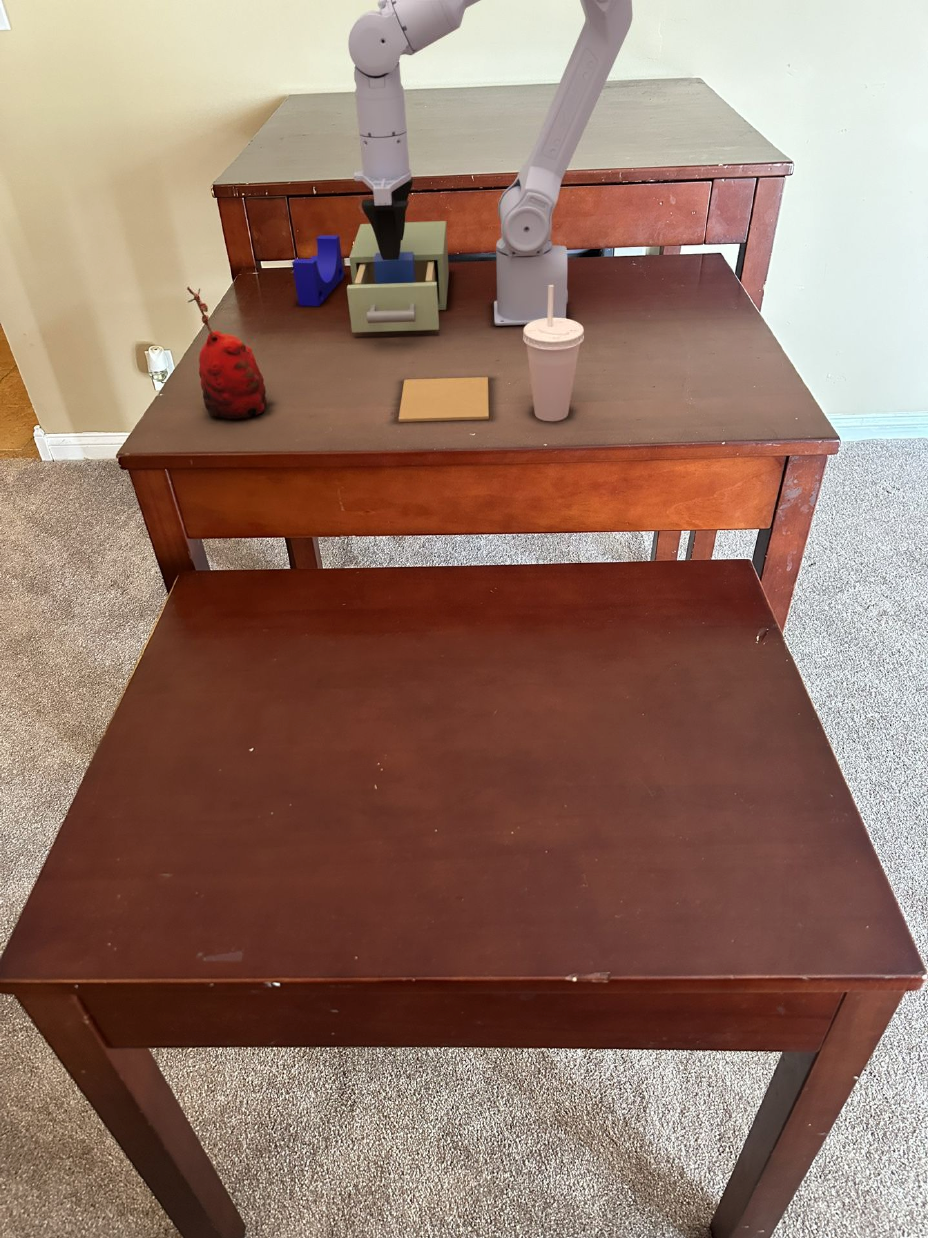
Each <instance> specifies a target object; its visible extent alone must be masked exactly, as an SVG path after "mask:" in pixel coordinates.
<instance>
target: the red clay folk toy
mask: <svg viewBox="0 0 928 1238" xmlns="http://www.w3.org/2000/svg"><path fill="white" fill-rule="evenodd" d="M186 290H187V291H188V292H189V293H190V294H191V295H192V296H193V298H191V299H189V300H188V301H187V303H188V304H189V303H192V302H193V301H195V302H196V304H197V307H198V309H199V311H200V313H201V315H202V316H201V322H202V324H204V325H205V326H206V328H207V330H208V335H207V339H206V341H205V342H204V345H203V346H202V348H201V350H200V351H199V356H198V362H199V368H198V375H199V377H200V386H201V387H200V388H201V390H202V398H203V403H204V407H205V409H206V410H207V412H208V413H209V414H210V415H211V416H213V417H217V418H223V419H227V420H232V419H233V420H241V419H248V418H250V417H251V416H252V415H254V416H257V415H260V414H262V413H264V411H265V409H266V407H265V405H266V404H267V397H266V393H267V390H266V386H265V381H264V379H265V378H263V374H262V373H261V371H260V367H259V366H258V364H257V362H256V358H255V356H254V355H255V354H254V353H253V350H252V347H250V346H248V345H246V344H245V342H244V341H242V340H240V339H239V338H238V337H237V336H236V335H232V334H229V333H227V334H224V333H221V332H220V331H218V330H212V328H211V326H210V324H209V318H210V316H209V315H208V314H205V313H208V311H209V309H208V308H209V307H208V305H207V304H206V303H205V302H203V301H202V300H201V297H200V294H201V293H200V292H201V288H198V290H197V291H198V292H197V293H196V292H194V291H193V289H191V288H190V286H187V288H186Z"/></svg>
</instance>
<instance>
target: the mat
mask: <svg viewBox="0 0 928 1238" xmlns="http://www.w3.org/2000/svg"><path fill="white" fill-rule="evenodd" d="M489 415H490V412H489V377H488V376H481V377H448V378H446V377H443V378H415V379H414V378H413V379H409V378H408V379H404V380H403V387H402V393H401V400H400V407H399V413H398V423H407V422H411V423H412V422H413V423H414V422H442V421H443V422H444V421H445V422H446V421H447V422H448V421H479V420H480V421H482V420H483V421H484V420H489V419H490V417H489Z"/></svg>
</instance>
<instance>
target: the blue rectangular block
mask: <svg viewBox="0 0 928 1238" xmlns="http://www.w3.org/2000/svg"><path fill="white" fill-rule="evenodd" d="M374 272H375V282H376V284H393V283H416V280H415V266H414V252H400V255H399V259H398V260H383V259H382V257H381V254H380V253H376V255H375V258H374Z"/></svg>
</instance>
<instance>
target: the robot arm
mask: <svg viewBox="0 0 928 1238" xmlns="http://www.w3.org/2000/svg"><path fill="white" fill-rule="evenodd" d="M480 1H481V0H378V1H377V6H378V8H379V10H369V11H366V12H364V13H363V14H361V15H360V16H359V17H358V18H357V20H356V21H355V22H354V24H353V26H352V27H351V29H350V32H349V35H348V43H347V44H348V45H347V46H348V52H349V57H350V58H351V61H352V62H353V64H354V70H353V78H354V82H355V87H356V88H355V90H354V97H355V105H356V106H355V107H356V115H357V116H356V117H357V125H358V134H359V135H358V136H359V145H360V146H359V147H360V156H361V165H362V170H357V171H355V172H354V173H353V180H354V181H355V182H363V183H364V184H365V185H366V186H367V187H368V188H369V189H370V191H371V193H372V195H373V198H369V199H362V201H361V209H362V212H363V213H364V215H365V216H366V218H367V219H368V221H369V224H371V226H372V228H373V231H374V234H375V237H376V240H377V244H378V248H379V251H380V254H381V257H382V259H383V260H398V259H399V255H400V248H401V240H403V236H404V228H405V223H406V215H407V214H406V212H407V209H408V206H409V203H410V201H409V200H408V198H409V195H410V192H411V189H412V186H413V184H414V178H413V177H412V176H413V175H412V170H411V169H410V159H409V158H410V157H409V142H408V130H407V117H406V116H407V115H406V100H405V89H404V86H403V85H402V75H401V63H400V59H401V56H403V55H404V56H405V55H407V56H413V55H415V54H416V53H419V52H420V51H422V50H424V49H425V48H427V47H428V46H430V45H432V44H434V43H435V42H437V41H439V40H441V39H443V38H444V37H445V36H448V35H449V34H452V33H453V32H455V31H457V30H458V29H460V28H461V25H462V22H463V19H464V14H465V11H466V9H467V8H469V7H471V6H473V5H475V4H476V3H478V2H480ZM579 1H580V5H581V8H582V11H583V15H584V19H585V20H584V23H583V26H582V28H581V29H580V30H581V31H580V33H579V35H578V38H577V40H576V43H575V46H573V47H574V48H573V49H572V53H571V54H570V57H569V59H568V61H567V64H566V66H565V69H564V71H563V74H562V76H561V79H560V81H559V83H558V86H557V88H556V91H555V92H554V95H553V98H552V100H551V103H550V105H549V107H548V109H547V112H546V114H545V117H544V119H543V121H542V124H541V126H540V128H539V131H538V133H537V135H536V139H535V141H534V143H533V146H532V148H531V150H530V153H529V155H528V157H527V159H526V160H525V162H524V164H523V165H522V166H521V168H520V169H519V171H518V173H517V176H516V178H515V180H514V181H513V183H512V184H511V185H509V186H508V187H507V188H506V189H505V190H504V191H503V192H502V194H501V196H500V198H499V200H498V204H497V214H498V218H499V222H500V234H501V237H500V238H499V239H498V240H497V241H496V245H495V247H496V248H495V252H496V253H495V254H496V255H495V256H496V257H495V258H496V260H495V261H496V300H494V301H493V313H494V315H493V316H494V317H493V318H494V325H495V326H526V325H527V324H529V323H530V322H532V321H535V320H538V319H543V318H547V317H548V285H553V286H554V290H553V318H565V319H567V304H568V303H569V290H568V250H567V246H565V245H556V244H553V242H552V239H551V235H552V228H553V224H552V223H553V221H552V220H553V214H554V211H555V209H556V205H557V204H558V200H559V195H560V190H561V186H562V182H563V180H564V177H565V174H566V171H567V169H568V168H569V165H570V162H571V160H572V158H573V155H574V153H575V152H576V150H577V147H578V145H579V142H580V140H581V138H582V136H583V133H584V131H585V129H586V127H587V125H588V123H589V120H590V118H591V116H592V113H593V111H594V109H595V107H596V104H597V102H598V101H599V98H600V96H601V93H602V91H603V90H604V89H603V88H604V86H605V85H606V82H607V80H608V77H609V75H610V73H611V71H612V69H613V67H614V65H615V62H616V59H617V57H618V55H619V53H620V51H621V48H622V46H623V44H624V42H625V39H626V37H627V35H628V33H629V30H630V29H631V25H632V22H633V0H579Z"/></svg>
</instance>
